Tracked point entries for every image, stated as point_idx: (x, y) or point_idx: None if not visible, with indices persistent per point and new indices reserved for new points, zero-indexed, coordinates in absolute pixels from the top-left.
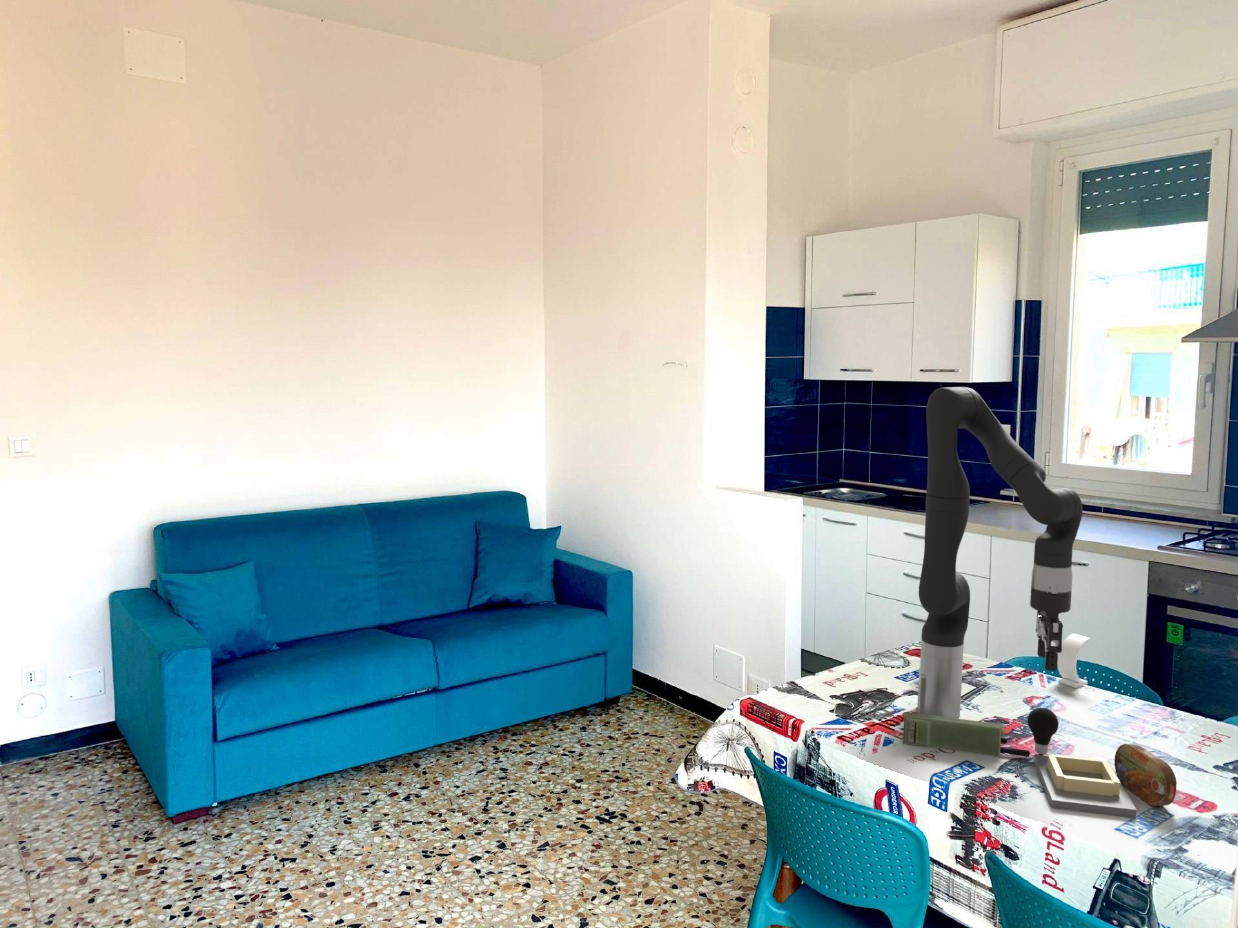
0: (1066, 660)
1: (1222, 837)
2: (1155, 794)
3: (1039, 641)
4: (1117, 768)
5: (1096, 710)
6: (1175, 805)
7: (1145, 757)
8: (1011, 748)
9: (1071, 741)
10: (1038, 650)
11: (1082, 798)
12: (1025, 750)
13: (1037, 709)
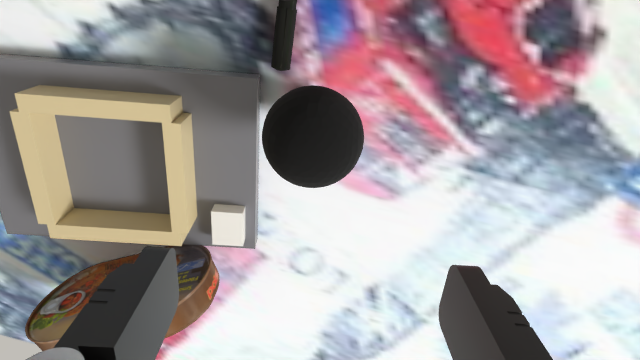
0: None
1: (13, 332)
2: (79, 287)
3: (498, 356)
4: (206, 255)
5: (612, 302)
6: None
7: None
8: (285, 16)
9: (416, 203)
10: (468, 291)
11: (7, 135)
12: (280, 58)
13: (314, 131)
